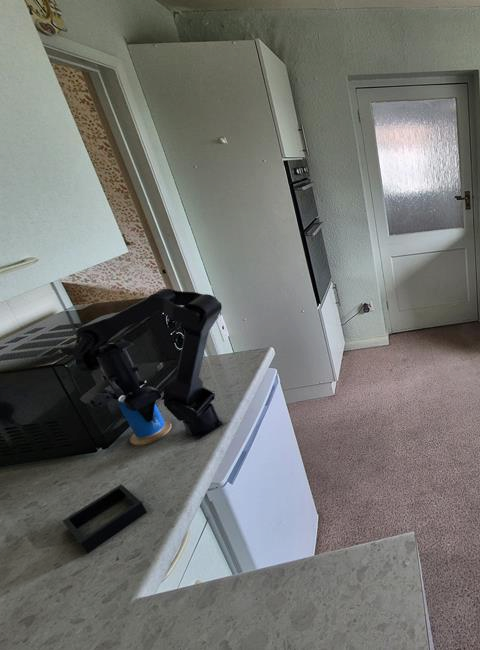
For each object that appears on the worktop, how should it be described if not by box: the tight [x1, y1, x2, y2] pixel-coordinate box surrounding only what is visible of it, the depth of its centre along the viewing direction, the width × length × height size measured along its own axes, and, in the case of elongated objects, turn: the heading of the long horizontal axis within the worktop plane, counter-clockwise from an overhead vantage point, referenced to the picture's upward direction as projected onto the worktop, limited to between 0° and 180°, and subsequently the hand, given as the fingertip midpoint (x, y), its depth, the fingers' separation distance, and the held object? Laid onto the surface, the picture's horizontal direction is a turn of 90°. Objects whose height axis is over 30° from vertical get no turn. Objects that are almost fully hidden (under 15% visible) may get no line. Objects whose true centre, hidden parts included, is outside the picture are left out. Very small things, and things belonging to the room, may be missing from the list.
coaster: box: [129, 419, 173, 447], centre depth 102 cm, size 9×9×1 cm
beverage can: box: [117, 395, 165, 438], centre depth 99 cm, size 6×6×12 cm
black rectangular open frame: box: [62, 484, 148, 554], centre depth 77 cm, size 10×10×3 cm
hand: (144, 417), depth 100 cm, fingers closed on beverage can, 6 cm apart
